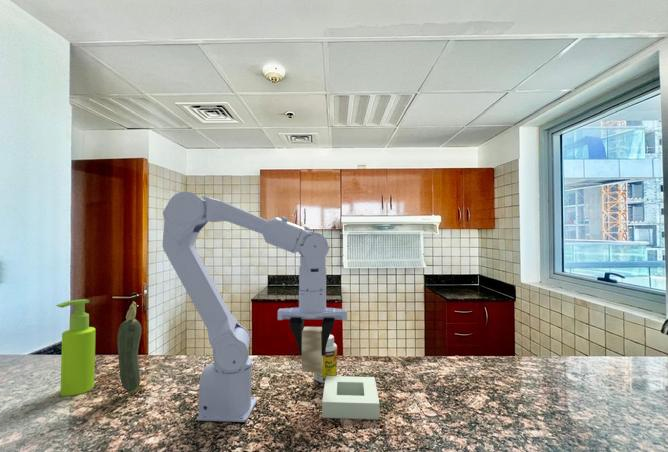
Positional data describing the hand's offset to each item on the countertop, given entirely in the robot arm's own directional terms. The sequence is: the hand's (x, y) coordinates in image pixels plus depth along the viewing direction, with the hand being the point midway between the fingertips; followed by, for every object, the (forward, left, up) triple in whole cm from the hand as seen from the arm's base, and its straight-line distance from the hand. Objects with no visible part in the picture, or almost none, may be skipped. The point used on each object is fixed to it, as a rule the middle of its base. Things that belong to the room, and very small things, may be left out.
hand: (312, 353), depth 66 cm
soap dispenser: (-54, +2, -10) cm, 55 cm away
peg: (0, 0, -3) cm, 3 cm away
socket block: (+8, 0, -10) cm, 13 cm away
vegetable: (-41, +1, -10) cm, 42 cm away
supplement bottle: (+2, +11, -10) cm, 15 cm away
